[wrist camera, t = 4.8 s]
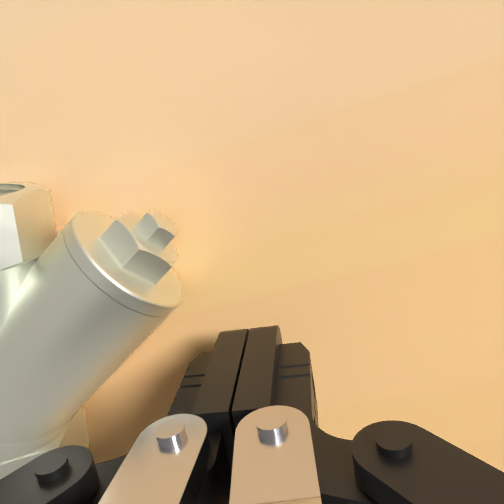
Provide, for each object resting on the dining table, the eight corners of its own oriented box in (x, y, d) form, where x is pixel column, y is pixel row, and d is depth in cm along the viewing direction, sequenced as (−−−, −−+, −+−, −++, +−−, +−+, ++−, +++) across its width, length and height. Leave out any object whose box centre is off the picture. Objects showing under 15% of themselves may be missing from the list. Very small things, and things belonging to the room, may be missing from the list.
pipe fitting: (185, 174, 13) (-57, 183, 13) (156, 200, 9) (-181, 211, 9) (204, 424, 15) (-3, 429, 16) (186, 526, 12) (-86, 530, 12)
